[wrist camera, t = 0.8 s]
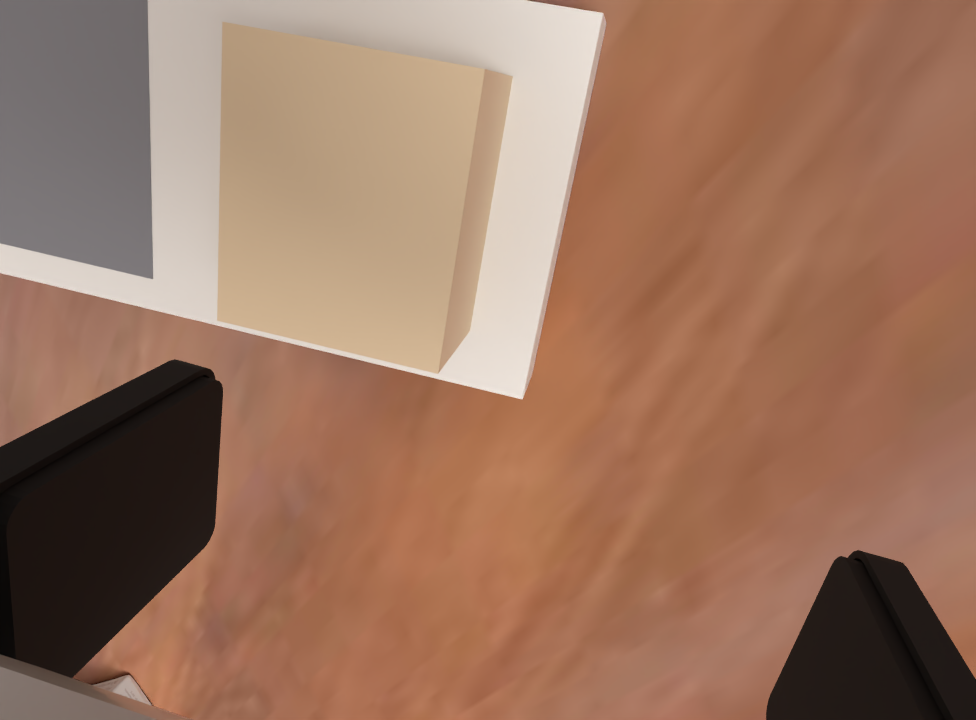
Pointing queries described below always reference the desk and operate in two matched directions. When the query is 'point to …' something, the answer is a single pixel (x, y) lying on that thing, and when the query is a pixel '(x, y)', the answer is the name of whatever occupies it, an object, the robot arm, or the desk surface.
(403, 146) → the kraft carton
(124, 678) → the supplement box
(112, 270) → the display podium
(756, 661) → the desk surface
